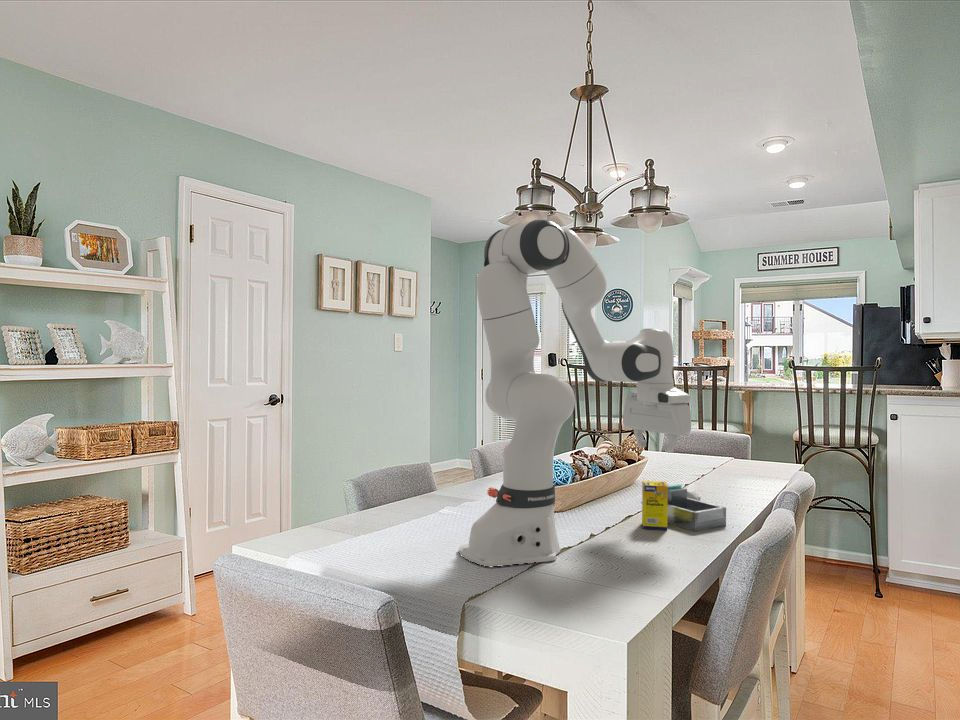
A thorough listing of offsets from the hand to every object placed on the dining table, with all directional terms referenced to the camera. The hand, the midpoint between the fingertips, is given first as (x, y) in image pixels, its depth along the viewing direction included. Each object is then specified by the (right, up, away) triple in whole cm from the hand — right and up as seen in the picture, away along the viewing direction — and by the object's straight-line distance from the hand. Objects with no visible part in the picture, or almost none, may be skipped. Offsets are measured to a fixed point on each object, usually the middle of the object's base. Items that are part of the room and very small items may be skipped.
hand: (655, 449), depth 163 cm
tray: (+9, -19, +6) cm, 22 cm away
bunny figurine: (+12, -19, +27) cm, 35 cm away
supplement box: (0, -20, 0) cm, 20 cm away
